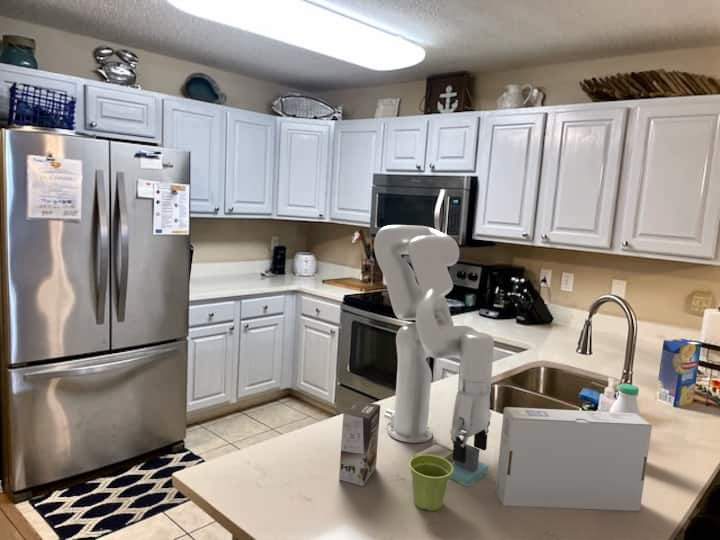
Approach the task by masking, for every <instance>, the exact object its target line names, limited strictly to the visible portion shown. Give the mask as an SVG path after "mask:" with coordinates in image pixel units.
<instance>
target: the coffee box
mask: <svg viewBox="0 0 720 540" xmlns="http://www.w3.org/2000/svg"><path fill="white" fill-rule="evenodd" d="M380 414H381V404H377V403H371V402H365V401H360V400H356V401H354V402H353V404H351V405H350V406H349V407H348V408H347V409H346V410H345V411H344V412H343V416H342V425H341V426H342V429H341V443H340V444H341V445H340V456H339V457H340V458H339V459H340V460H339V472H338V480H340V481H342V482H347V483H350V484H354V485H357V486H360V487H364V486H365V484H366V483H367V482H368V480H369V479H370V477H371V476H372V474H373V473H374V471H375V470H376V468H377V458H378V444H379V427H380V418H381V417H380V416H381V415H380Z"/></svg>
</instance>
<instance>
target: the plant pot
mask: <svg viewBox="0 0 720 540" xmlns="http://www.w3.org/2000/svg"><path fill="white" fill-rule="evenodd" d="M408 466H409V469H410V473H411V475H412V477H411V478H412V491H413V492H412V494H413V495H412V497H413V503H414V504H415V505H416V507H417V508H420V509H421V510H427V511H430V512H432V511H433V512H435V511H438V510H440V509H441V507H442V506H443V502H444V498H445V493H446V490H447V487H448V483H449V479H451V478H450V475H451V474H452V473H453V466H452V464H451V463H450V462H449V461H447V460H446V459H444V458H442V457H439V456H435V455H418V456H415V457H411V459H410V460H409V463H408Z"/></svg>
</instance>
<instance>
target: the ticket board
mask: <svg viewBox="0 0 720 540" xmlns="http://www.w3.org/2000/svg"><path fill="white" fill-rule="evenodd" d="M418 455H435V456H439V457H442V458H444V459H446V460H447V461H449V462H450V463H452V462H453V461H455V460H454V459H453V449H451V448H449V447H446V446H445V445H441V444H439V443H437V442H435V443H433V444H432V445H430V446H428V447H426V448H424V449H422V450H421V451H419V452H417V453H415V454H413V457H415V456H418ZM413 457H412V458H413Z"/></svg>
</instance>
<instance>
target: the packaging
mask: <svg viewBox="0 0 720 540" xmlns="http://www.w3.org/2000/svg"><path fill="white" fill-rule="evenodd" d="M652 428H653V425H652V424H651V423H650V422H648V420H647V421H646V420H645V419H644V418H643V417H642V416H641V417H640V416H638V415H637V414H635V413H619V412H610V411H593V410H573V409H555V408H552V409H551V408H535V407H534V408H533V407H532V408H531V407H512V406H509V407H508V406H505V407H504V408H503V414H502V424H501V433H500V442H499V443H500V444H499V454H498V461H497V462H498V463H497V473H496V482H495V483H496V484H495V493H496V494H497V496H498V499H499V500H500V503H501V504H502V506H503V507H505V506H507V507H527V508H529V507H532V508H552V509H553V508H554V509H555V508H556V509H577V510H580V509H581V510H599V511H600V510H604V511H605V510H606V511H628V512H629V511H632V512H641V507H642V506H641V504H642V498H643V492H644V485H645V484H644V483H645V478H646V471H647V463H648V457H649V450H650V442H651V435H652Z"/></svg>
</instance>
